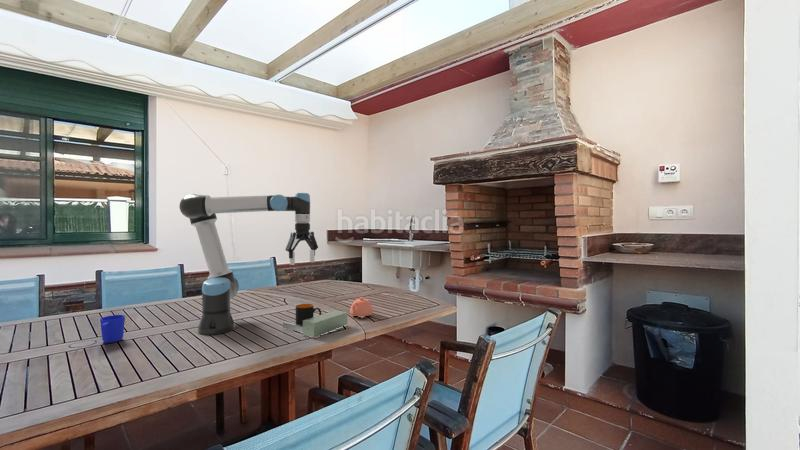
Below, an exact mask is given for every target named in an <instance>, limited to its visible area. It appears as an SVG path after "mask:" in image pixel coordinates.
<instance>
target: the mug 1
mask: <svg viewBox="0 0 800 450" xmlns="http://www.w3.org/2000/svg"><path fill="white" fill-rule="evenodd" d="M125 320H126V315H125V314H114V315H113V314H112V315H107V316H104V317H101V318H100V320H99V321H100V331H101V338H102V339H101V340H102V342H103V343H106V344H108V343H109V344H110V343H116V342H119V341H121V340H122V339H123V338H124V332H125V331H124V330H125Z"/></svg>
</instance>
